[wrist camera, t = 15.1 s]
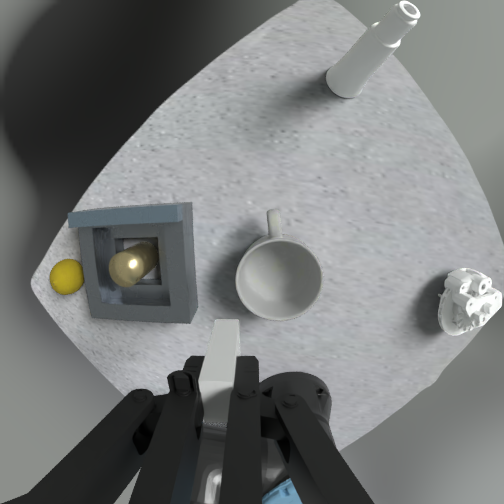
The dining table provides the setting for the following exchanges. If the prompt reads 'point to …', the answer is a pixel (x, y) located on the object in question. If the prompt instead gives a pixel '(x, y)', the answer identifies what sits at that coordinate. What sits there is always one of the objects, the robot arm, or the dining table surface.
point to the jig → (145, 290)
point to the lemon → (67, 276)
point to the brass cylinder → (133, 264)
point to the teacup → (279, 275)
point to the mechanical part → (467, 301)
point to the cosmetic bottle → (371, 50)
